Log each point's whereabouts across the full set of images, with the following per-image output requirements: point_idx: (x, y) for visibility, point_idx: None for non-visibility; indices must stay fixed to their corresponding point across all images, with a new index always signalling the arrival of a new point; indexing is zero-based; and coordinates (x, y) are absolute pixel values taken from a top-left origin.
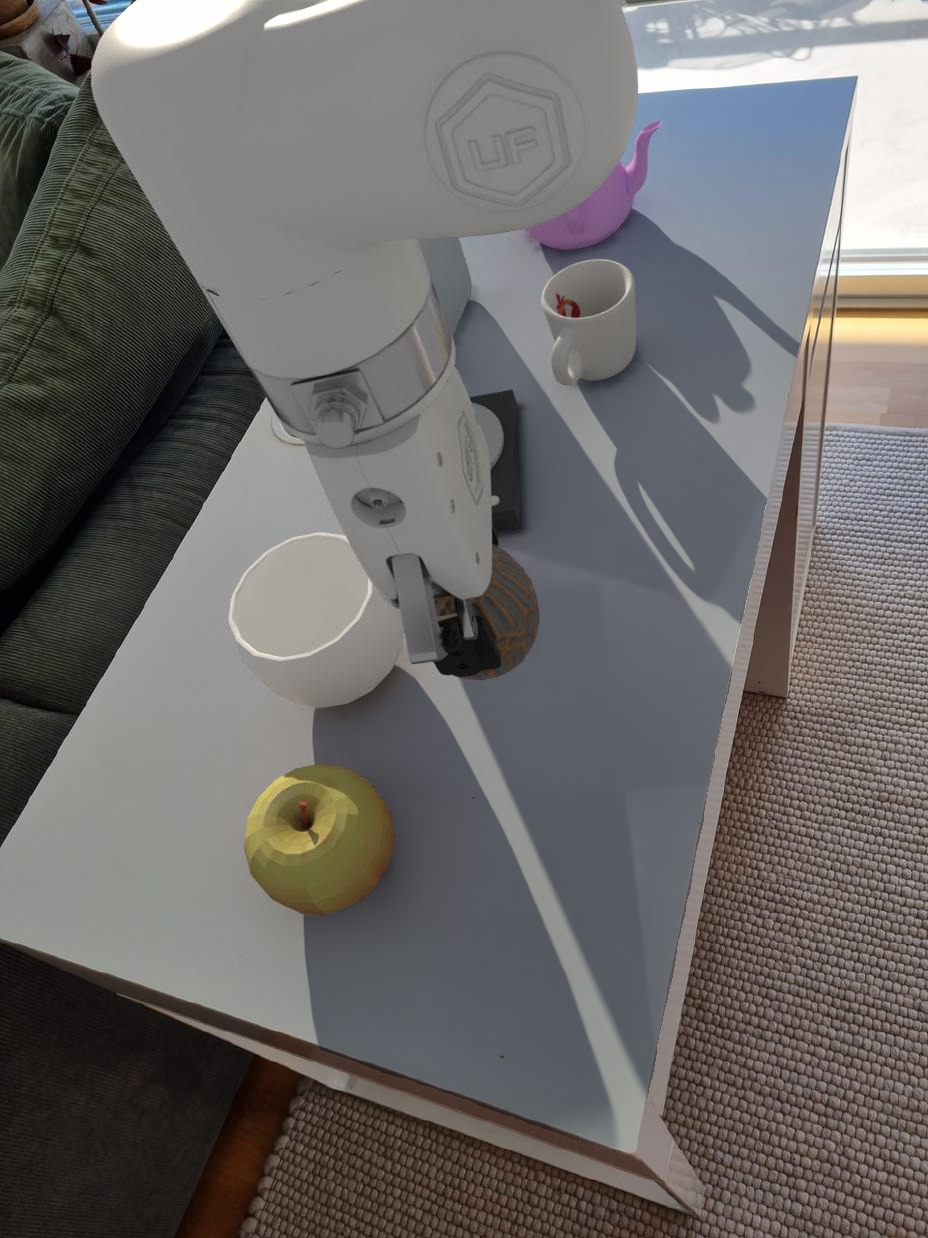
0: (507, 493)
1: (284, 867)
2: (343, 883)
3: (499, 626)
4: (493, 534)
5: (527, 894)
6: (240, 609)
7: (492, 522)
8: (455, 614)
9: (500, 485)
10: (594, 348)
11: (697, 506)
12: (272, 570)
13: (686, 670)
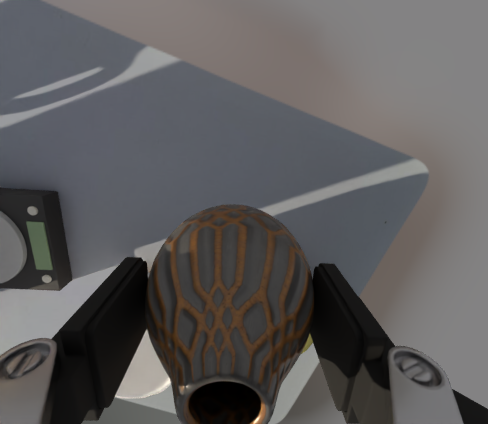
0: (25, 199)
1: (309, 342)
2: None
3: (302, 273)
4: (129, 271)
5: (312, 205)
6: (131, 385)
7: (110, 277)
8: (379, 398)
9: (17, 204)
10: None
11: (39, 52)
12: None
13: (186, 90)
